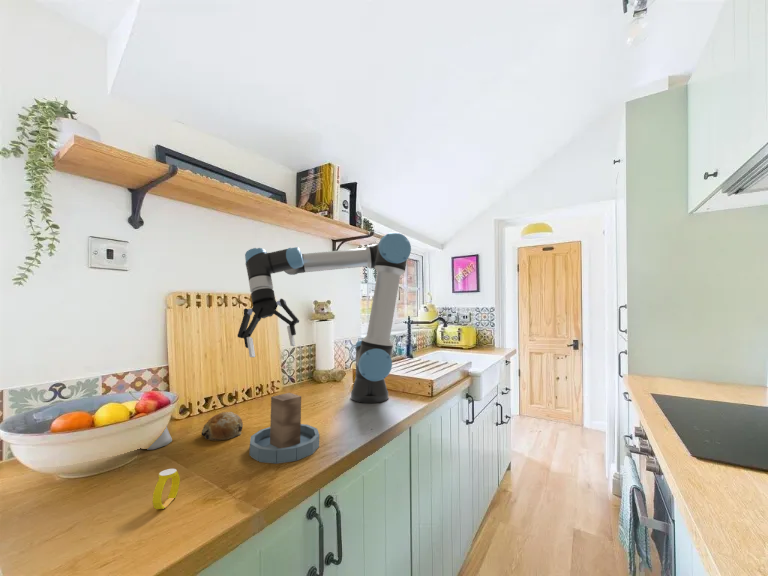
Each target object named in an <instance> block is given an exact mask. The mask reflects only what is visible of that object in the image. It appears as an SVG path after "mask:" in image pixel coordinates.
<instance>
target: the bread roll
mask: <svg viewBox="0 0 768 576" xmlns="http://www.w3.org/2000/svg"><path fill="white" fill-rule="evenodd" d="M243 427H244V425H243V418H241V416H239V414H237V413H234V411H226V412H225V411H224V412H220V413H217V414H216V415H213V416H211V418H209V419H208V421H207V422H206V423H205V424H204V425H203V427H202V431H201V436H203V437H204V439H205V440H209V441H214V442H215V441H216V442H217V441H218V442H219V441H225V440H230V438H231V439H233V438H236V437H239V436H241V435H242V429H243Z"/></svg>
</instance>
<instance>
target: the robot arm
mask: <svg viewBox="0 0 768 576" xmlns="http://www.w3.org/2000/svg"><path fill="white" fill-rule="evenodd" d="M411 252H412V246H411V242H410V240H409V239H408V238H407V237H406V236H405V234H403V233H400V232H393V231H392V232H389V233H386V234H385V235H383V236H382V237H381V239H380V240H379V242H377V243H375V244H369V245H366V247H364V248H353V249H341V250H332V251H331V250H330V251H329V250H328V251H321V252H319V251H318V252H309V253H308V252H307V253H302V250H301V249H300V247H298V246H297V247H296V246H295V247H288V248H285V249H280V250H276V251H271V252H267V250H266V249H265V248H261V247H257V248H256V247H253V248H249V249H248V250H247V251H246V252H245V253H244V259H245V267H246V272H247V277H248V284H249V291H250V295H251V296H250V297H251V303H252V308H246V307H245V308H244V309H243V317H242V320H241V322H240V326H239V329H238V333H237V338H240V339H244V340H243V342H244V347H245V348H246V349H248V354H249V355H248V356H249V358H255V357H256V353H255V352H256V351H255V346H254V340H253V337H251V336H252V334H253V333H254V332H255V331H254V330H255V329H256V327H257V326H258V323H259V322H260V321H261V320H262V319H267V318H269V317H270V318H271V317H273V316H274V315H275V316H277V317H278V318H279V319H281V320H282V321H283V322H285V323H286V324H287V325H286V329H287V333H288V338H289V339H288V340H289V344H290V346H291V347H295V346H296V343H295V336H296V335H297V332H296V327H295V326H296V325H297V324H299V323H300V320H299V318H297V316H296V315H295V313H294V312H293V311H292V310H291V309H290V307H289V306H288V305H287V301H286V300H285V299H283V298H280V299H279V300H278V301H277V300H276V296H275V291H274V286H273V280H272V274H276V273H277V274H278V273H281V272H285V273H286V274H287V275H290V276H291V275H292V276H293V275H294V276H295V275H297V274H303V273H312V272H321V271H323V272H324V271H333V270H343V269H355V268H363V267H367V268H369V269H375V270H376V272H377V274H376V278H375V279H376V281H375V286H374V290H373V296H372V302H371V307H370V308H371V309H370V314H369V320H368V327H367V332H366V335H365V337H363V338H362V339H361V340H358V341H357V342H356V343H355V380H354V383H353V386H352V390H351V391H350V399H351V400H352V401H354V402H357V403H364V404H376V403H381V402H386V401H387V400H388V399H389V391H388V388H387V384H386V380H385V379H386V378H387V377H388V376H389V374H390V373H391V372H392V371H391V370H392V368H393V361H392V353H393V348H394V344H393V342H392V341H391V335H392V328H393V321H394V316H395V309H396V304H397V303H396V302H397V297H398V291H399V284H400V279H401V276H402V275H403V274H405V272H406V268H407V263H408V262H407V261H408V259H409V257H410V256H411ZM278 306H280V307H282V309H283V310H284V311H285V312H286V313H287V315H288V316H289V317H290V318H291V320H290V319H288V317H286V316H284V315H283V314H282V313H280V312H279V311H278V310H277V308H278ZM253 313H254V314H253ZM252 314H253V316H252ZM251 316H252V320H251V321H250V319H251Z"/></svg>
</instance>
